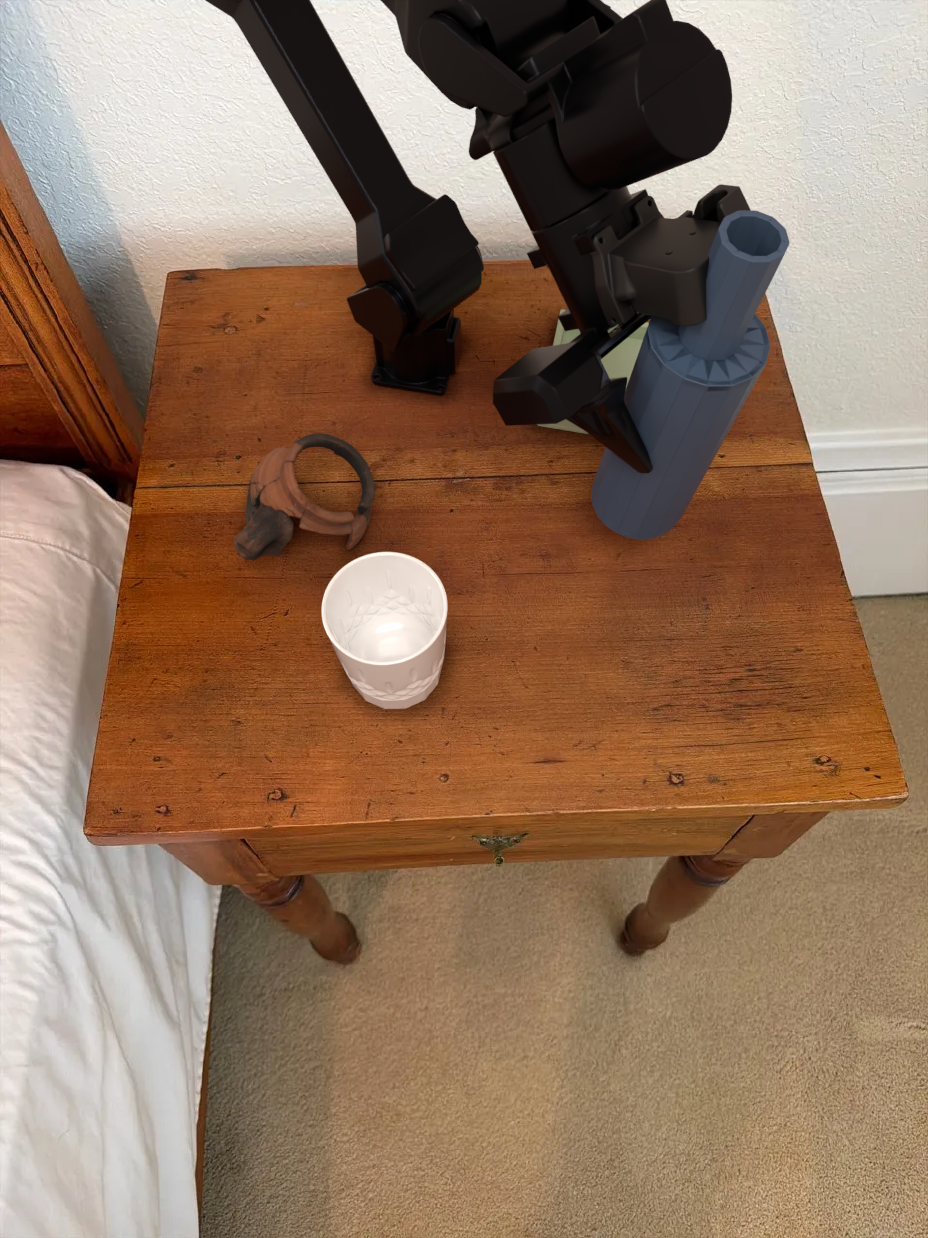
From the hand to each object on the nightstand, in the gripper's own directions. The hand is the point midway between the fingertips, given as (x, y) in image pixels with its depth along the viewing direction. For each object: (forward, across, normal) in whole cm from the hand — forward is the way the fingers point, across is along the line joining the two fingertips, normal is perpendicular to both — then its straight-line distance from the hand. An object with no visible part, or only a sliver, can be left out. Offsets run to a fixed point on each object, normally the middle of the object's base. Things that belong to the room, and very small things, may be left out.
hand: (682, 438), depth 56 cm
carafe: (+5, 0, +7) cm, 9 cm away
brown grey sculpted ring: (-4, -18, +24) cm, 30 cm away
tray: (+2, +11, +17) cm, 20 cm away
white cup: (+6, -21, +14) cm, 25 cm away
